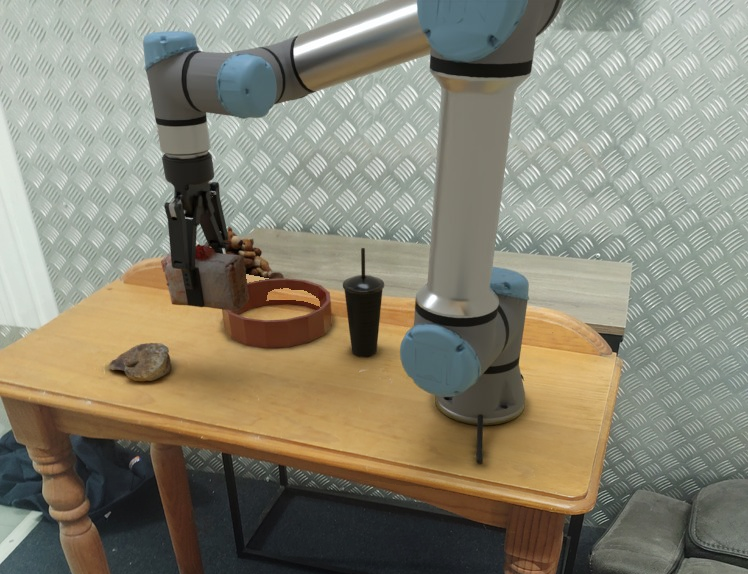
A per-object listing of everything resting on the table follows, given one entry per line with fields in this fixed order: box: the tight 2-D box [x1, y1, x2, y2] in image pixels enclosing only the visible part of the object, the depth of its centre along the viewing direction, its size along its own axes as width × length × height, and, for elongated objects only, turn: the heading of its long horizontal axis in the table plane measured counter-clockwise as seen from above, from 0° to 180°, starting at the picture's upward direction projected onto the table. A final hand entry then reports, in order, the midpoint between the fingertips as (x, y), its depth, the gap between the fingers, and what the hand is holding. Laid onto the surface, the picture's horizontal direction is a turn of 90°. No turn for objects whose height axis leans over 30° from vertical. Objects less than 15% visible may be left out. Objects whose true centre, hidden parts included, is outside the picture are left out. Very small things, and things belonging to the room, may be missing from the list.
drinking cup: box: [342, 247, 385, 358], centre depth 133 cm, size 8×8×20 cm
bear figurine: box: [220, 226, 285, 279], centre depth 164 cm, size 14×15×12 cm
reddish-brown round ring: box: [221, 277, 333, 349], centre depth 147 cm, size 22×22×6 cm
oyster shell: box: [108, 342, 172, 382], centre depth 132 cm, size 10×12×5 cm
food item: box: [160, 240, 249, 311], centre depth 121 cm, size 14×8×10 cm, turn 75°
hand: (208, 295), depth 123 cm, fingers closed on food item, 8 cm apart
